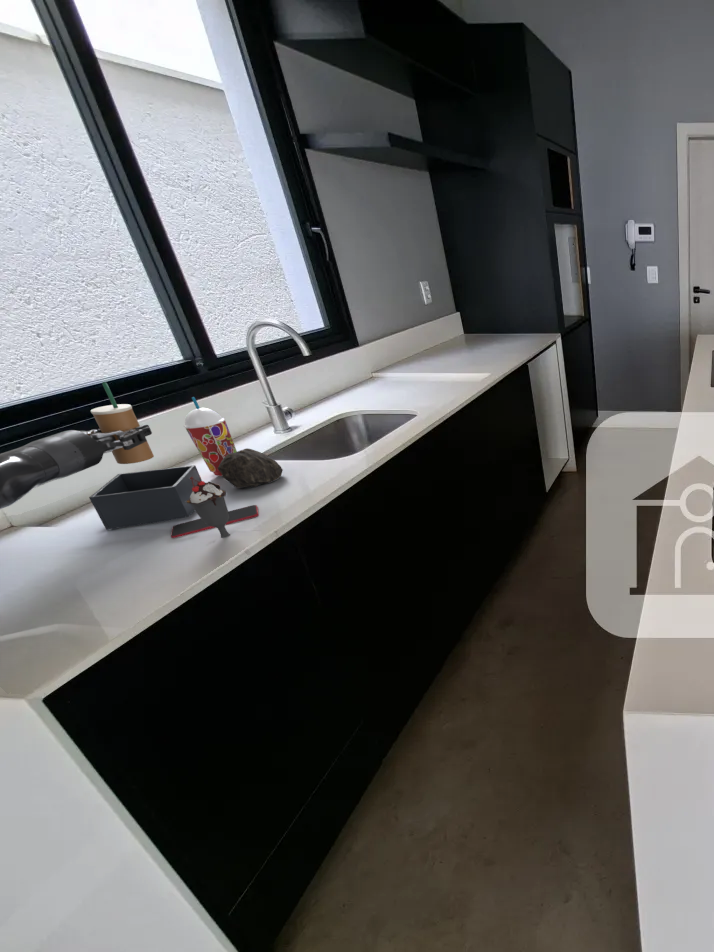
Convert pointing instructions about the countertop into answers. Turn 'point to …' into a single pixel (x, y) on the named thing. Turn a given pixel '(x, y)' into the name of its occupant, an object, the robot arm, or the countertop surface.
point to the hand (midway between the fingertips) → (132, 429)
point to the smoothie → (209, 436)
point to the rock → (249, 468)
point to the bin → (146, 497)
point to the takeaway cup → (121, 428)
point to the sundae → (210, 505)
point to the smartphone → (201, 526)
